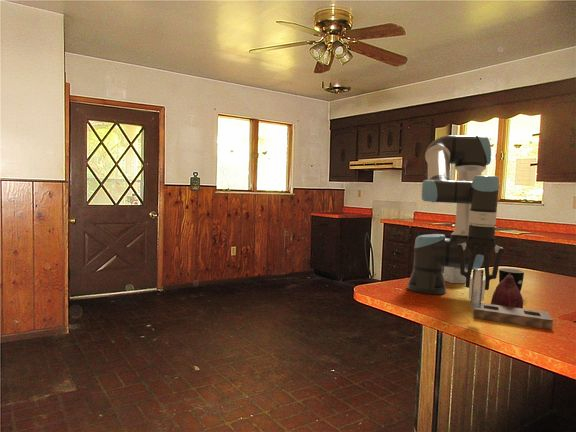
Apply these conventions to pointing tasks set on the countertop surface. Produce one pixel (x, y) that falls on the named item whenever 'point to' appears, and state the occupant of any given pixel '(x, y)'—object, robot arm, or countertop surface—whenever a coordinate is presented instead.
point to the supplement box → (454, 275)
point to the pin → (477, 288)
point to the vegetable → (507, 293)
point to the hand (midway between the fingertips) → (476, 298)
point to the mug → (515, 273)
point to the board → (514, 315)
